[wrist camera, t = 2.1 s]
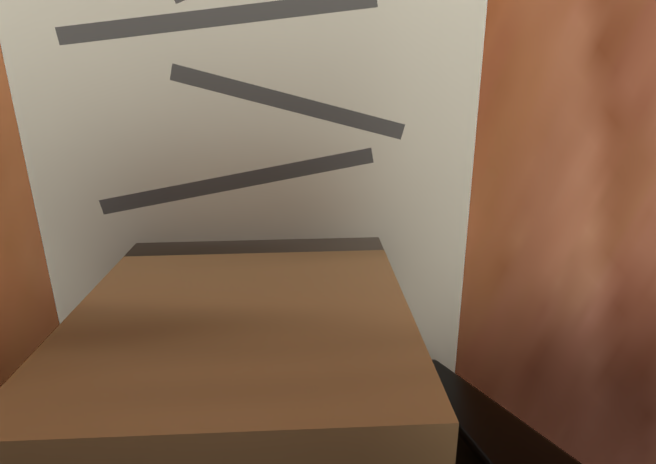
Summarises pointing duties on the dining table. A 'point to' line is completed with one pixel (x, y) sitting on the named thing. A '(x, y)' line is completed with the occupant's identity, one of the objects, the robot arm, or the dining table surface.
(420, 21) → the board
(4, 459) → the block
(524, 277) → the dining table surface
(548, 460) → the robot arm
